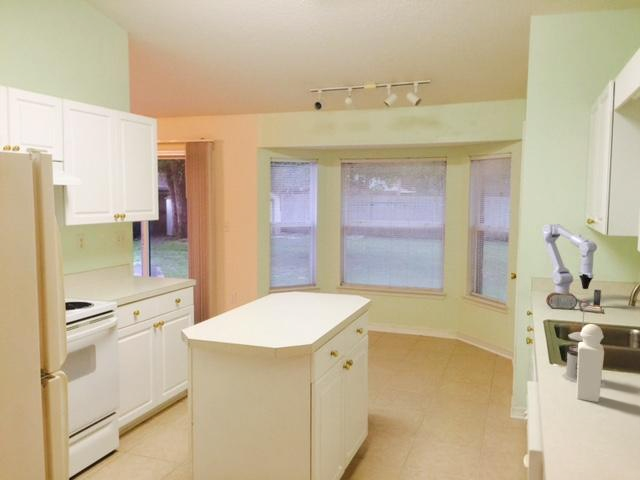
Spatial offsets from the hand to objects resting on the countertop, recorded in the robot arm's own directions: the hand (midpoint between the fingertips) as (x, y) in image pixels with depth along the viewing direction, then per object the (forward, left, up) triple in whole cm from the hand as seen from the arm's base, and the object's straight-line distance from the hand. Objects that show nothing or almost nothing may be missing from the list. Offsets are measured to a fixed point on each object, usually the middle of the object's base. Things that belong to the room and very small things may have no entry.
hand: (585, 288), depth 273 cm
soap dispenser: (+140, -4, -10) cm, 140 cm away
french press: (+123, -5, -10) cm, 123 cm away
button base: (0, 0, -9) cm, 9 cm away
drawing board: (+9, +3, -9) cm, 13 cm away
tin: (+13, -11, -10) cm, 20 cm away
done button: (0, 0, -9) cm, 9 cm away
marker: (-2, +6, -9) cm, 11 cm away
